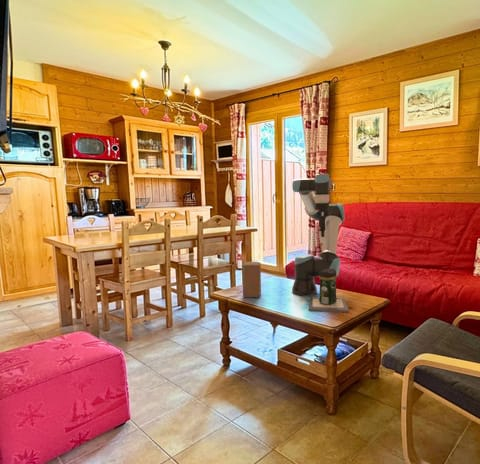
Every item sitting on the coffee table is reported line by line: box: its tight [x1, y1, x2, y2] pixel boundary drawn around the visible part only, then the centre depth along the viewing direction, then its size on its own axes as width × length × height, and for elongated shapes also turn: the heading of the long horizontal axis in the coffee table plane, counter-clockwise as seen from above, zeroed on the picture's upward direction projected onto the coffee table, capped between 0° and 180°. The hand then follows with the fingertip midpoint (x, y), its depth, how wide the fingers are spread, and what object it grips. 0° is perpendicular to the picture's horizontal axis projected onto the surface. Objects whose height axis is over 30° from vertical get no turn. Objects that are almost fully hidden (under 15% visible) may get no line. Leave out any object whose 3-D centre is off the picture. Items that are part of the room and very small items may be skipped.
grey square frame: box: [308, 296, 350, 313], centre depth 190 cm, size 20×20×2 cm
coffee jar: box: [318, 268, 338, 305], centre depth 189 cm, size 10×8×19 cm
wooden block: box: [241, 261, 262, 298], centre depth 211 cm, size 10×10×20 cm
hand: (322, 241), depth 193 cm, fingers open, 13 cm apart
